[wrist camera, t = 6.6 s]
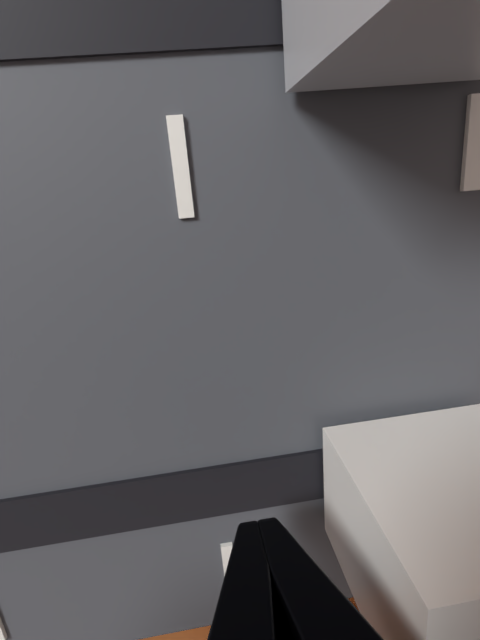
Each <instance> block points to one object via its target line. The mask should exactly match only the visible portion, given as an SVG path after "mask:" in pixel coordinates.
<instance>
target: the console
mask: <svg viewBox="0 0 480 640" xmlns="http://www.w3.org/2000/svg"><path fill="white" fill-rule="evenodd" d="M475 404H480V80H468V81H454V82H439V83H424V84H409V85H395V86H380V87H365V88H350V89H335V90H321V91H306V92H291V93H285V70H284V47H283V24H282V1H281V0H0V640H138V639H143V638H148V637H153V636H158V635H163V634H168V633H173V632H179V631H184V630H189V629H194V628H199V627H204V626H209V625H212V621H213V617H214V613H215V610H216V606H217V602H218V599H219V595H220V591H221V587H222V584H223V580H224V576H225V572H226V569H227V565H228V561H229V558H230V554H231V550H232V546H233V543H234V539H235V535H236V531H237V528H238V525H239V524H240V523H243V522H249V521H257V522H258V520H260V519H266V518H272V517H275V518H277V519H278V520H279V521H280V522H281V524H282V525H283V526H284V527H285V528H286V529H287V530H288V531H289V533H290V534H291V535H292V536H293V537H294V538H295V539H296V541H297V542H298V543H299V544H300V545H301V546H302V547H303V548H304V550H305V551H306V552H307V553H308V554H309V555H310V556H311V558H312V559H313V560H314V561H315V562H316V563H317V564H318V565H319V567H320V568H321V569H322V570H323V571H324V572H325V573H326V575H327V576H328V577H329V578H330V579H331V580H332V581H333V583H334V584H335V585H336V586H337V587H338V588H339V589H340V590H341V592H342V593H343V594H344V595H345V596H346V597H347V598H352V597H353V595H352V593H351V590H350V588H349V586H348V583H347V581H346V578H345V576H344V574H343V571H342V569H341V566H340V564H339V562H338V559H337V557H336V554H335V552H334V550H333V547H332V545H331V542H330V540H329V538H328V535H327V533H326V531H325V515H324V472H323V430H322V428H324V427H331V426H337V425H344V424H350V423H357V422H364V421H370V420H377V419H383V418H390V417H396V416H403V415H410V414H416V413H423V412H429V411H436V410H442V409H449V408H456V407H462V406H469V405H475Z"/></svg>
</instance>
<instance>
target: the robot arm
mask: <svg viewBox="0 0 480 640" xmlns="http://www.w3.org/2000/svg"><path fill="white" fill-rule="evenodd" d="M207 640H384V639H383V638H382V637H381V636H380V635H379V634H378V632H377V631H376V630H375V629H374V628H373V627H372V626H371V625H370V623H369V622H368V621H367V620H366V619H365V618H364V617H363V615H362V614H361V613H360V612H359V611H358V610H357V609H356V607H355V606H354V605H353V604H352V603H351V602H350V601H349V600H348V598H347V597H346V596H345V595H344V594H343V593H342V592H341V590H340V589H339V588H338V587H337V586H336V585H335V584H334V583H333V581H332V580H331V579H330V578H329V577H328V576H327V575H326V573H325V572H324V571H323V570H322V569H321V568H320V567H319V565H318V564H317V563H316V562H315V561H314V560H313V559H312V558H311V556H310V555H309V554H308V553H307V552H306V551H305V550H304V548H303V547H302V546H301V545H300V544H299V543H298V542H297V541H296V539H295V538H294V537H293V536H292V535H291V534H290V533H289V531H288V530H287V529H286V528H285V527H284V526H283V525H282V524H281V522H280V521H279V520H278V519H277V518H275V517H272V518H266V519H260V520H258V522H257V521H249V522H243V523H240V524H239V525H238V528H237V531H236V535H235V539H234V543H233V546H232V550H231V554H230V558H229V561H228V565H227V569H226V572H225V576H224V580H223V584H222V587H221V591H220V595H219V599H218V602H217V606H216V610H215V613H214V617H213V621H212V625H211V628H210V632H209V636H208V639H207Z"/></svg>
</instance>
